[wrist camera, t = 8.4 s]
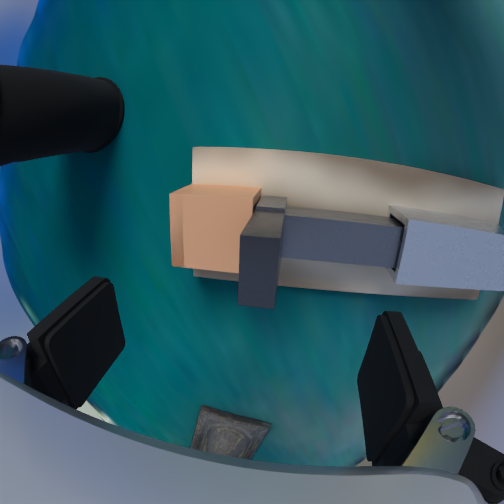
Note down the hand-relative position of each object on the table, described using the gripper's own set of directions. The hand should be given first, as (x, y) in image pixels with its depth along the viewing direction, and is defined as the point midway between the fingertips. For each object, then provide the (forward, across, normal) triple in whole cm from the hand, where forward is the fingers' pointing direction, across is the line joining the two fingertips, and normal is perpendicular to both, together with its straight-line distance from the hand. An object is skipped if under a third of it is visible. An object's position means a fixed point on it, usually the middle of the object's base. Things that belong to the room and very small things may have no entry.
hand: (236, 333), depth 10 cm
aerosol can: (+18, +19, -9) cm, 28 cm away
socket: (+17, +4, +1) cm, 17 cm away
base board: (+18, -8, +1) cm, 20 cm away
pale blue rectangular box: (+17, -16, +1) cm, 23 cm away
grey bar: (+16, -4, +1) cm, 17 cm away
